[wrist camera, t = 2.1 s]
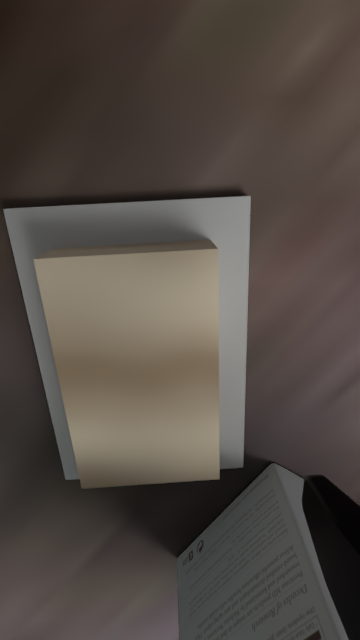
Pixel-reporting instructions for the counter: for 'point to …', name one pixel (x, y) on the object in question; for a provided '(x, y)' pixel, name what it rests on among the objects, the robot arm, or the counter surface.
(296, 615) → the supplement box
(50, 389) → the mat
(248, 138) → the counter surface
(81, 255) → the board
